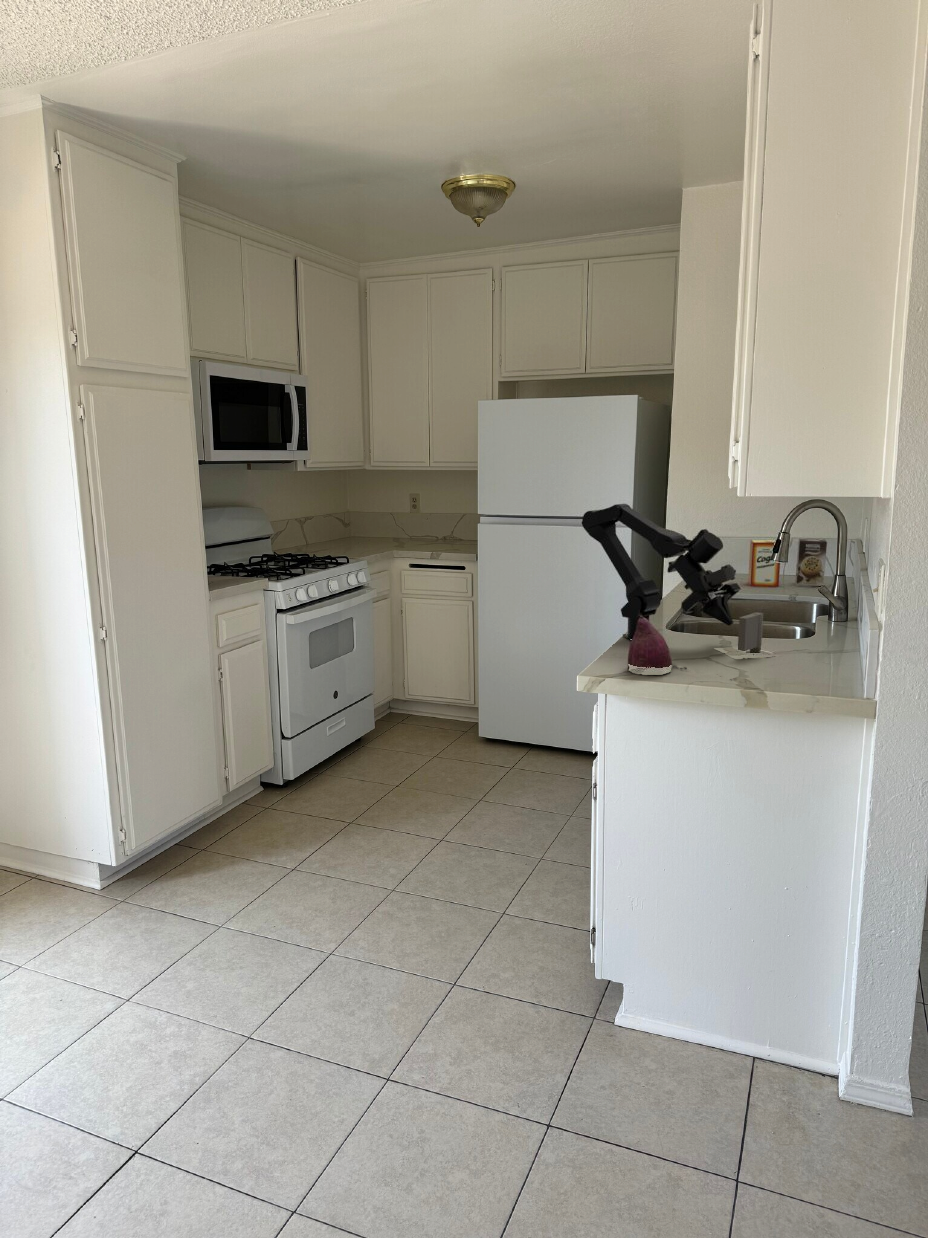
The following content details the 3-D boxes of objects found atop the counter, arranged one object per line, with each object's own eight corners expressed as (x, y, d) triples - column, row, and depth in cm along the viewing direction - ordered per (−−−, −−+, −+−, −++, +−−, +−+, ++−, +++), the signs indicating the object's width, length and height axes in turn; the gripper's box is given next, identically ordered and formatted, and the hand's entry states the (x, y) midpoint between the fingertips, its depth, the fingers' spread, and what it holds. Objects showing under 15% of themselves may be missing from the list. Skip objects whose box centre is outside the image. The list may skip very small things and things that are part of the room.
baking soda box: (750, 586, 306) (752, 541, 302) (748, 583, 312) (750, 538, 308) (778, 586, 304) (781, 541, 300) (775, 583, 310) (778, 539, 307)
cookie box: (796, 586, 304) (799, 540, 301) (794, 583, 310) (797, 538, 307) (824, 587, 302) (827, 541, 298) (822, 584, 308) (825, 538, 304)
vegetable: (640, 690, 198) (631, 632, 192) (621, 673, 208) (611, 617, 202) (681, 676, 200) (673, 618, 194) (660, 659, 209) (652, 603, 204)
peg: (735, 655, 208) (737, 617, 206) (753, 649, 213) (755, 612, 211) (757, 660, 204) (759, 620, 202) (774, 653, 209) (776, 615, 207)
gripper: (693, 558, 206) (732, 610, 200) (735, 550, 218) (773, 599, 213) (664, 587, 213) (701, 638, 208) (707, 578, 226) (743, 625, 220)
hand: (731, 624), depth 212 cm, fingers closed
